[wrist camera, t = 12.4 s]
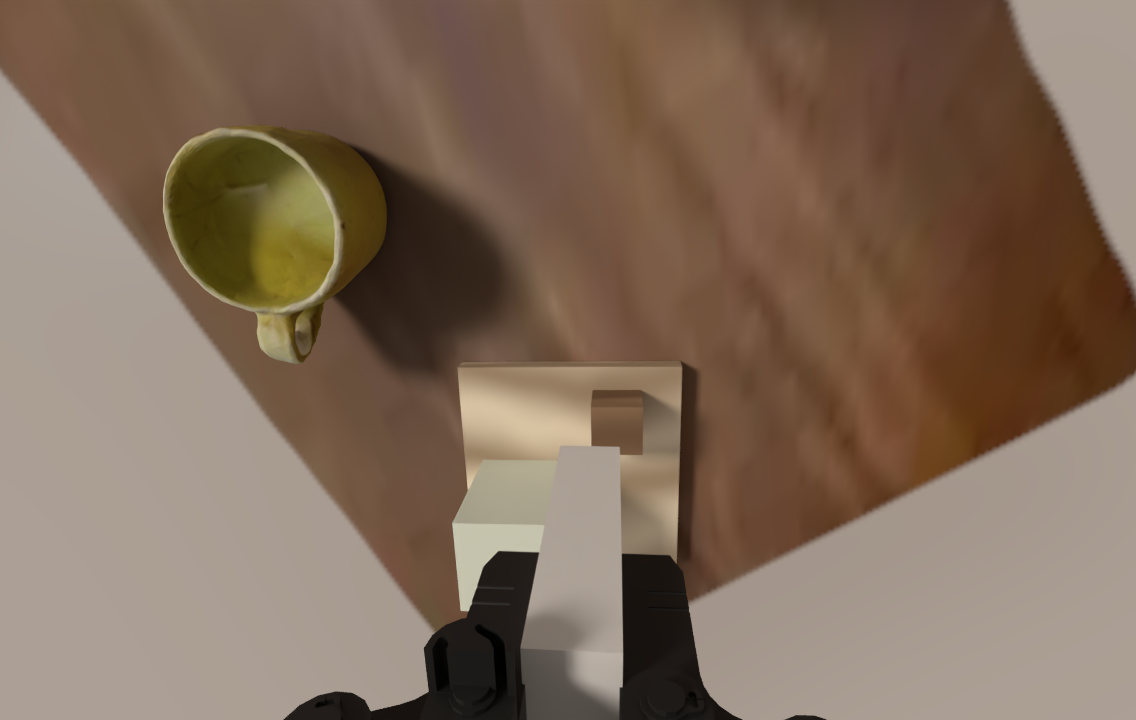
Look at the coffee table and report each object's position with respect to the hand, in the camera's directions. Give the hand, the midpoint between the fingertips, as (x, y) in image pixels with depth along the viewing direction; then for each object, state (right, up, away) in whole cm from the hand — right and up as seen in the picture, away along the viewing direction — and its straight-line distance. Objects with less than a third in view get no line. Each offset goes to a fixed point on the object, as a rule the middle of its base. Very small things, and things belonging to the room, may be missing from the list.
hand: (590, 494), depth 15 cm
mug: (-16, +11, +22) cm, 29 cm away
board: (0, -3, +24) cm, 25 cm away
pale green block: (-3, -6, +24) cm, 25 cm away
